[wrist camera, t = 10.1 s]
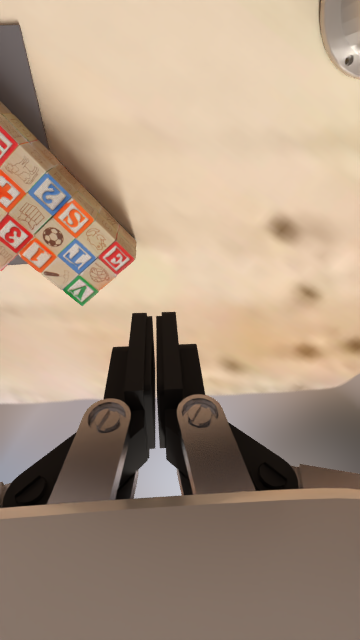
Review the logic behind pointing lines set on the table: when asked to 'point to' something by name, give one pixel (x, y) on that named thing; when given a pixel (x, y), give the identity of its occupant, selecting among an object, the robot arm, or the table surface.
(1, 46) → the mat
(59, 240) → the stack of blocks
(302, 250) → the table surface
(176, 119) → the table surface
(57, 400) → the table surface
